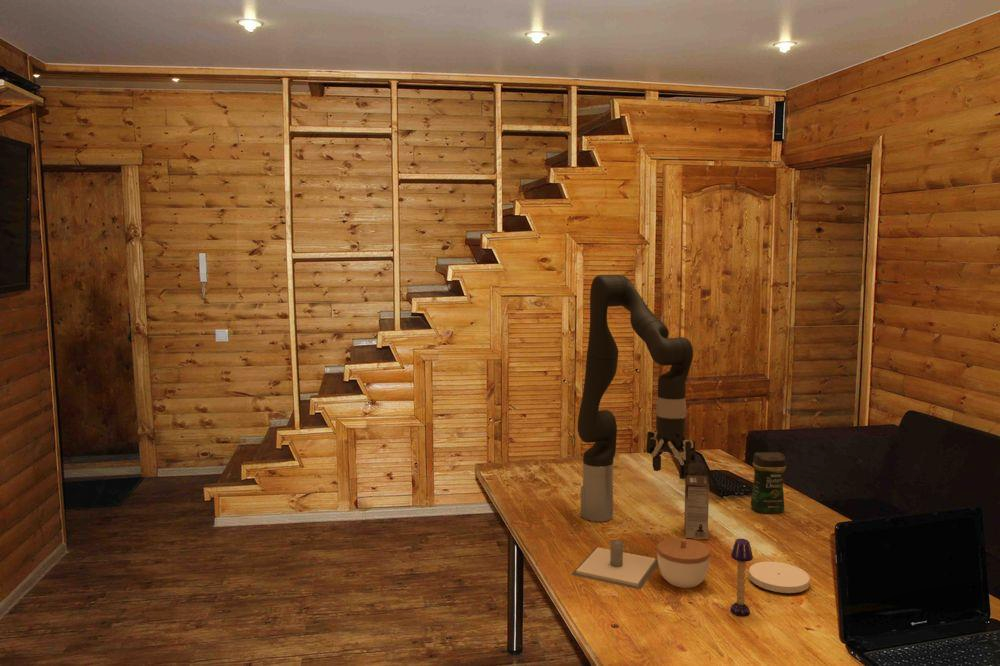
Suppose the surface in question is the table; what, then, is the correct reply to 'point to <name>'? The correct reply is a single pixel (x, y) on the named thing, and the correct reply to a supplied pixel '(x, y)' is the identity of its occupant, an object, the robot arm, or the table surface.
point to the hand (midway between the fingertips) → (669, 474)
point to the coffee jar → (768, 482)
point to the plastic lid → (779, 577)
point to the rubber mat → (617, 582)
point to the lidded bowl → (683, 561)
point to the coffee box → (696, 507)
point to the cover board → (620, 573)
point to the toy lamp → (741, 575)
